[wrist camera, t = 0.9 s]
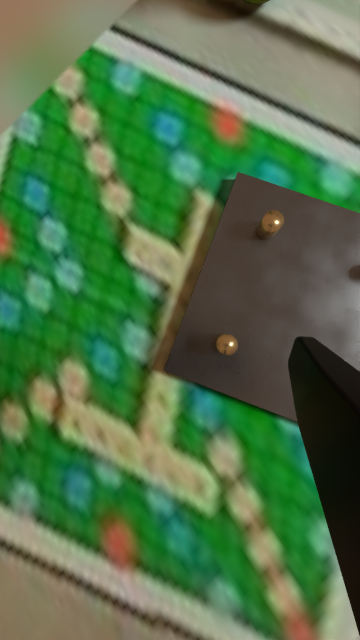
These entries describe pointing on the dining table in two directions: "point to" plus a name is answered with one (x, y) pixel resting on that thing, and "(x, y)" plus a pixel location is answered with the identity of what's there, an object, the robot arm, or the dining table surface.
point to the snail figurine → (256, 1)
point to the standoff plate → (270, 294)
